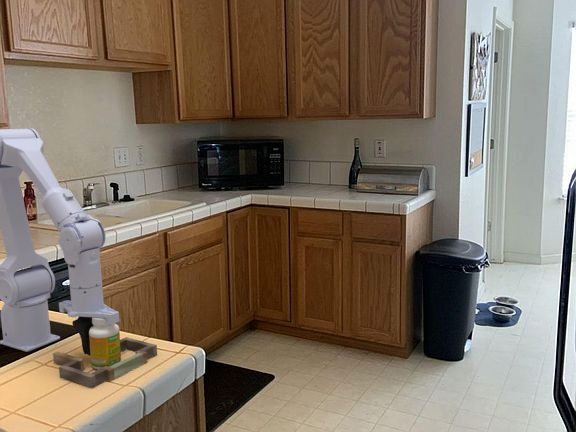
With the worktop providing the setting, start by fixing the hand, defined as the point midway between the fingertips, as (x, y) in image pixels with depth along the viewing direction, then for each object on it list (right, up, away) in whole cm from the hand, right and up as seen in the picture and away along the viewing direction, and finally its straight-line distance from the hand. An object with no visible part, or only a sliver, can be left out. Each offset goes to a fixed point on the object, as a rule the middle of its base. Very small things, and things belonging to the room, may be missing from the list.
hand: (91, 353), depth 106 cm
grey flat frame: (+2, -2, -1) cm, 2 cm away
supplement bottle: (+3, -2, -2) cm, 4 cm away
